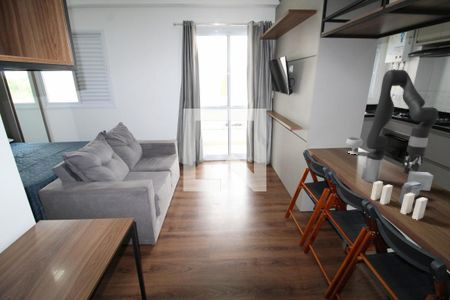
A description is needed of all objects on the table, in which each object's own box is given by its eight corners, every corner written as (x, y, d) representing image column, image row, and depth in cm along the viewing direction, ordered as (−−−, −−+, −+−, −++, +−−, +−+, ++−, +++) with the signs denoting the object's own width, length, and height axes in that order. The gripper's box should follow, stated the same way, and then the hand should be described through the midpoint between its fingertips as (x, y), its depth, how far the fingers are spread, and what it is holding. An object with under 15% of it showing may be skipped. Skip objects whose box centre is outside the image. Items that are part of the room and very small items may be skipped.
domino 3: (398, 202, 128) (402, 185, 124) (404, 200, 129) (408, 184, 126) (402, 204, 126) (406, 187, 122) (408, 202, 128) (412, 185, 124)
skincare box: (424, 186, 145) (428, 172, 142) (430, 190, 140) (434, 176, 136) (406, 185, 148) (409, 170, 145) (410, 189, 142) (414, 174, 139)
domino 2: (379, 202, 128) (383, 186, 125) (385, 200, 130) (388, 184, 127) (383, 204, 126) (387, 187, 123) (389, 202, 128) (392, 185, 125)
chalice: (364, 154, 210) (367, 139, 206) (352, 156, 207) (355, 141, 203) (352, 150, 223) (355, 136, 219) (341, 152, 220) (343, 137, 215)
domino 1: (370, 198, 133) (373, 182, 130) (376, 196, 135) (379, 180, 131) (374, 200, 131) (377, 183, 128) (379, 198, 133) (383, 182, 130)
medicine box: (409, 198, 132) (412, 185, 129) (401, 195, 136) (404, 182, 133) (418, 196, 134) (421, 183, 131) (410, 193, 138) (413, 180, 135)
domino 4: (400, 212, 118) (404, 194, 115) (406, 210, 120) (410, 192, 117) (404, 214, 116) (409, 196, 113) (410, 212, 118) (415, 194, 115)
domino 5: (411, 217, 113) (416, 199, 110) (417, 215, 115) (422, 197, 112) (416, 220, 111) (421, 201, 108) (422, 217, 113) (427, 199, 110)
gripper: (416, 141, 123) (410, 167, 128) (401, 144, 118) (395, 172, 123) (433, 144, 116) (426, 172, 121) (417, 148, 111) (410, 177, 116)
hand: (410, 172), depth 122 cm, fingers open, 8 cm apart
